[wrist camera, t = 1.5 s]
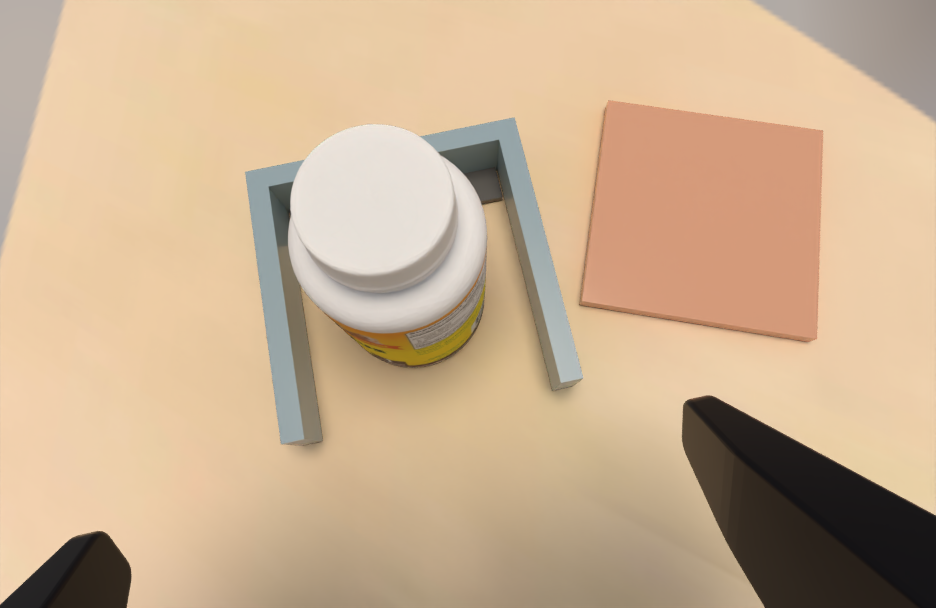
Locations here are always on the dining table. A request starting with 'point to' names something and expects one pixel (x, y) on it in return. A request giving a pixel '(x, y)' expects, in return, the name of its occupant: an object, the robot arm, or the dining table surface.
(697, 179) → the tile
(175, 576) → the dining table surface
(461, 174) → the supplement bottle
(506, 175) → the channel
